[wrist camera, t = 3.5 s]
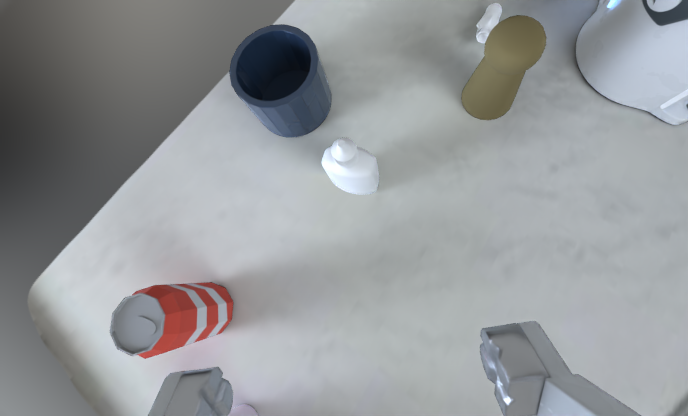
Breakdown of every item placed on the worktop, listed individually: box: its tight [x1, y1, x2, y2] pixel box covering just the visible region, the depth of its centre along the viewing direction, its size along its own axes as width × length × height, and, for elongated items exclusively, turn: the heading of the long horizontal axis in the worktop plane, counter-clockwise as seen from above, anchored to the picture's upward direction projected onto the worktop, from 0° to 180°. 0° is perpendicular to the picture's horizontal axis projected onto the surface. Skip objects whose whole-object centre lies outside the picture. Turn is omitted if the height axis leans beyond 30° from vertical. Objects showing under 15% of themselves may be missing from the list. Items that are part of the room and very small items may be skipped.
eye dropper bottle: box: [322, 138, 380, 194], centre depth 34 cm, size 4×6×12 cm
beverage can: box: [110, 282, 233, 359], centre depth 34 cm, size 6×6×12 cm
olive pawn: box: [461, 15, 546, 120], centre depth 34 cm, size 6×6×11 cm
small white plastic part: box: [476, 3, 502, 43], centre depth 40 cm, size 4×6×3 cm, turn 131°
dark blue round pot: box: [229, 25, 332, 137], centre depth 40 cm, size 10×10×8 cm
